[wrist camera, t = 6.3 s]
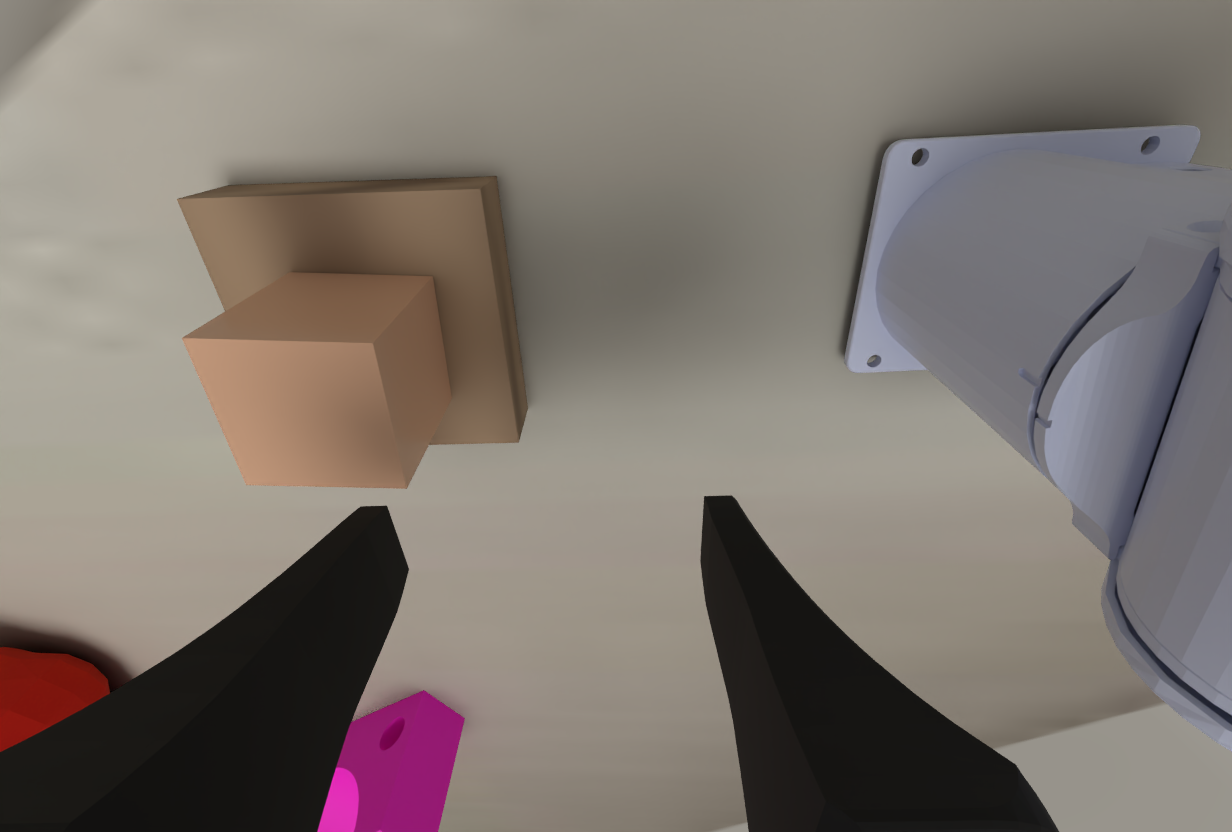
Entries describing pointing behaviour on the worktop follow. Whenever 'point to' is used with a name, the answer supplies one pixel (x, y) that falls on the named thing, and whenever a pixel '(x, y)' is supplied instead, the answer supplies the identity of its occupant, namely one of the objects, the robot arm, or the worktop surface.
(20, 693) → the tomato
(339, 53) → the worktop surface
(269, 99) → the worktop surface
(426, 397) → the terracotta block
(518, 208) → the worktop surface
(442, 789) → the toy block
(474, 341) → the walnut block
